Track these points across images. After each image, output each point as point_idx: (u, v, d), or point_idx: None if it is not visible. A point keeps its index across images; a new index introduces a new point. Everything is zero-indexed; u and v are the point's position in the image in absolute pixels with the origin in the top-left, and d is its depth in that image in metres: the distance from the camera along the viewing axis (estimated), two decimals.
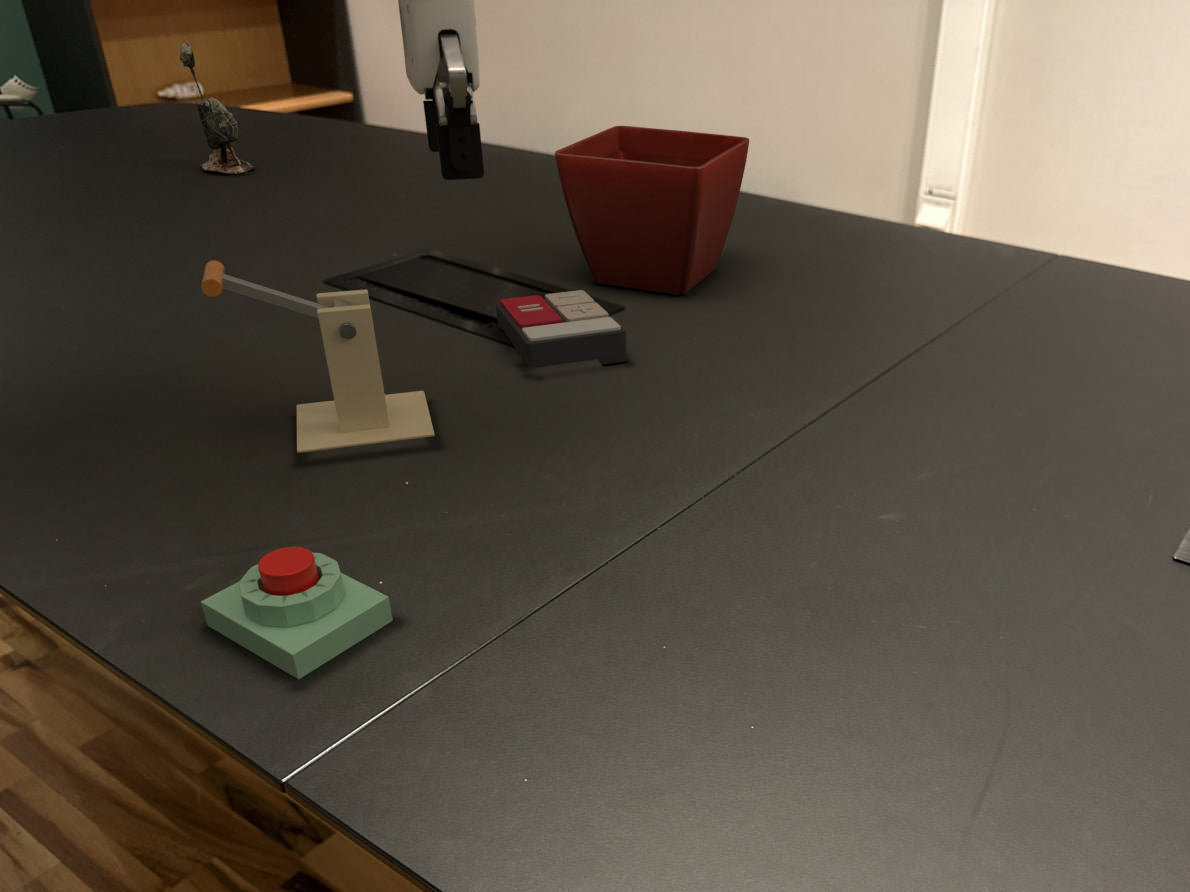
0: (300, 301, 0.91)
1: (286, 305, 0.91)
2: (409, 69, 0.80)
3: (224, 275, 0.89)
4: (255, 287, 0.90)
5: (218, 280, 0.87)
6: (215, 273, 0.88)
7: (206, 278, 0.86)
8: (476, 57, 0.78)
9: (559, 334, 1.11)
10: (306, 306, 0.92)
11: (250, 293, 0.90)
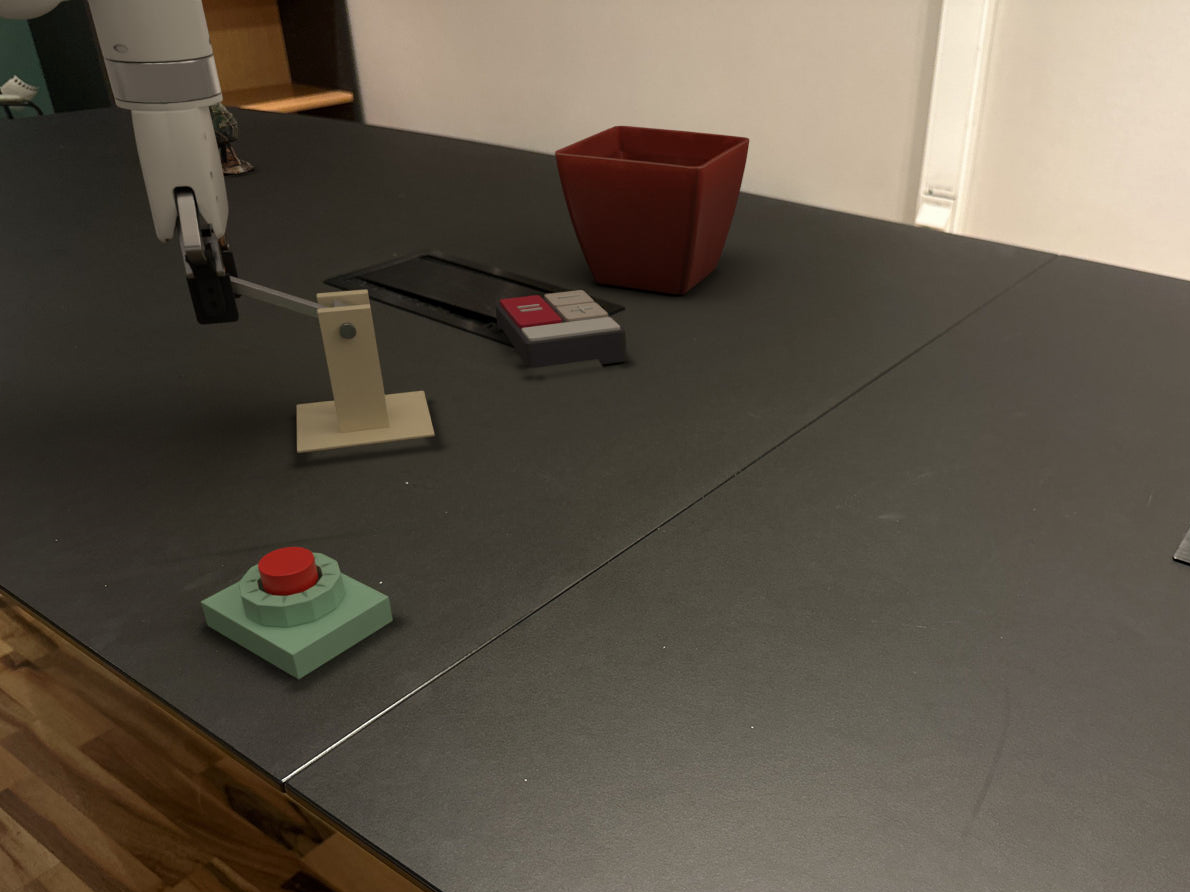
0: (300, 301, 0.91)
1: (286, 305, 0.91)
2: None
3: None
4: (255, 287, 0.90)
5: None
6: None
7: None
8: (214, 209, 0.82)
9: (559, 334, 1.11)
10: (306, 306, 0.92)
11: (250, 293, 0.90)
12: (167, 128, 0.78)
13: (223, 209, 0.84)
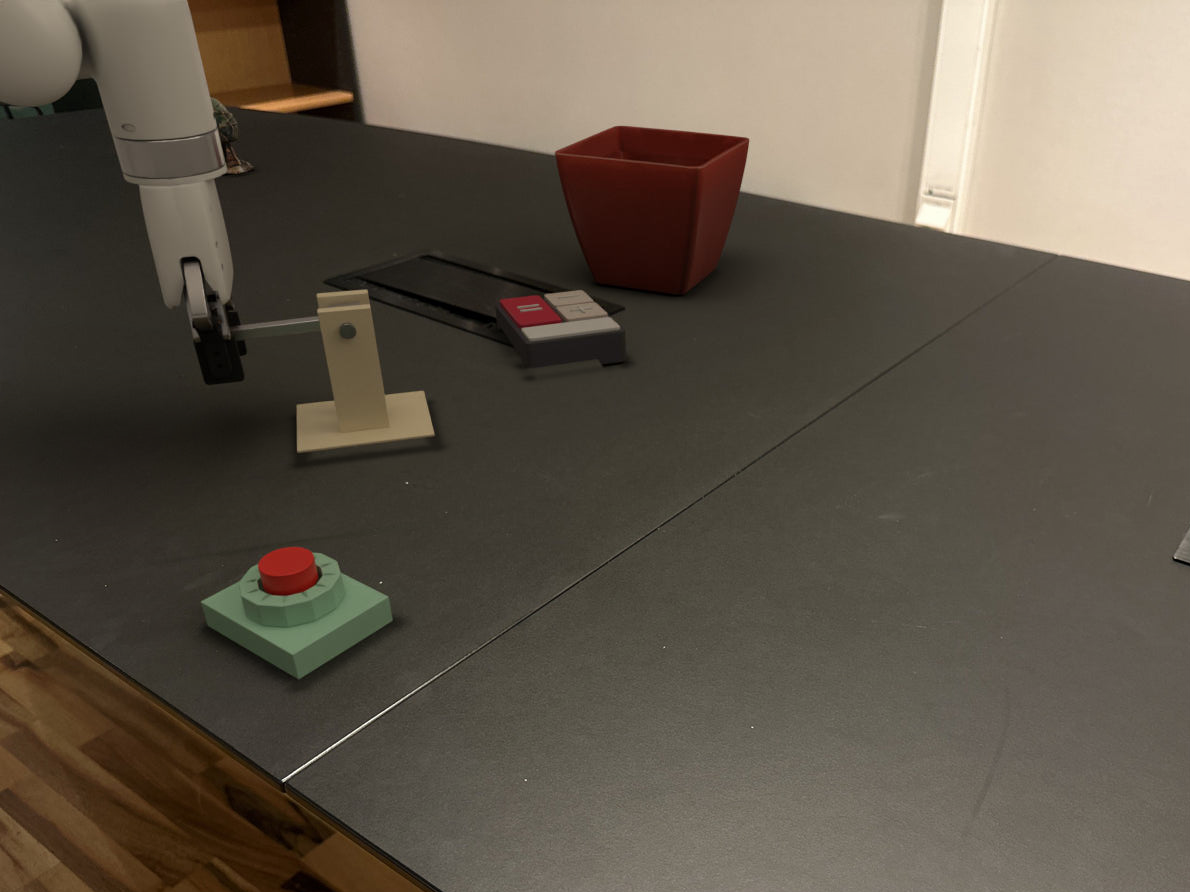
0: (296, 322, 0.92)
1: (287, 331, 0.92)
2: None
3: None
4: (252, 327, 0.91)
5: None
6: None
7: None
8: (220, 277, 0.84)
9: (558, 334, 1.11)
10: (304, 324, 0.92)
11: (251, 335, 0.91)
12: (174, 202, 0.81)
13: (228, 275, 0.87)
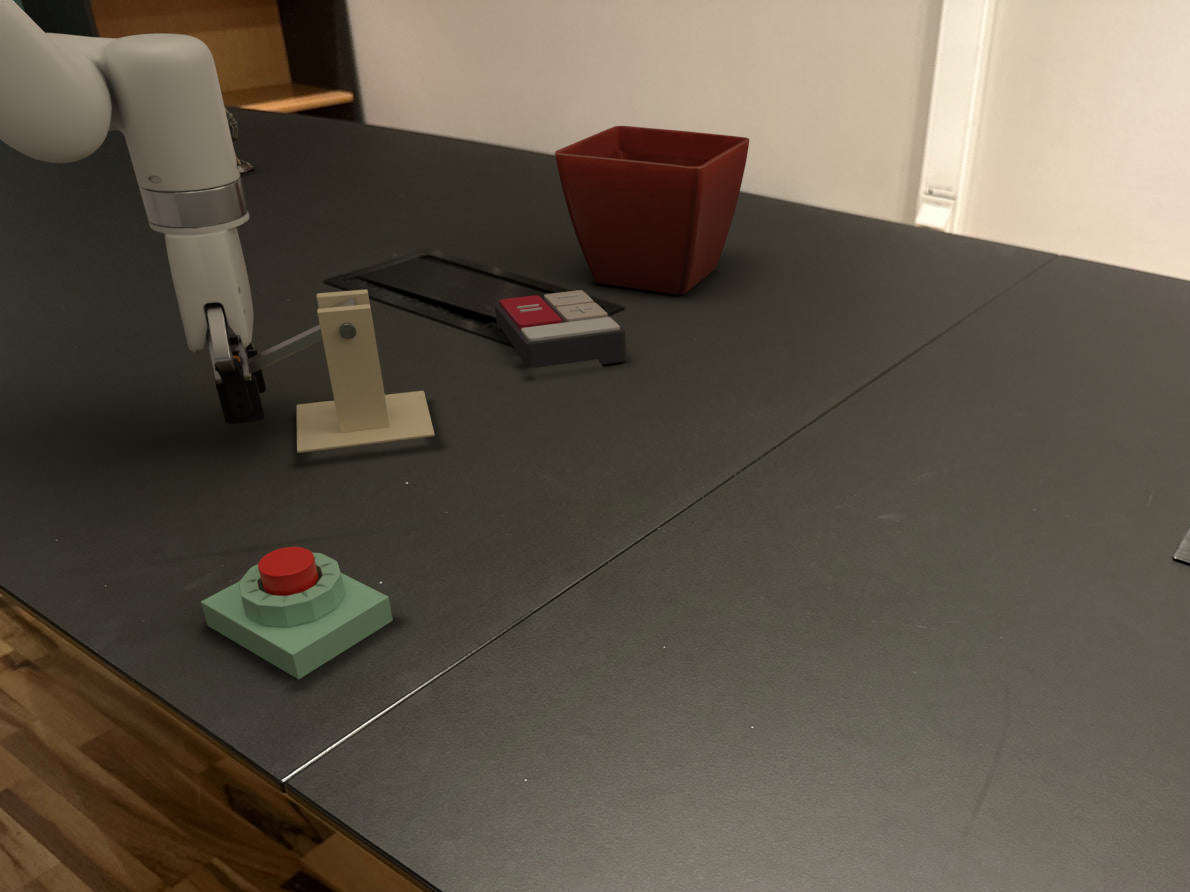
0: (301, 337, 0.93)
1: (295, 348, 0.93)
2: None
3: None
4: (263, 355, 0.93)
5: None
6: None
7: None
8: (242, 321, 0.87)
9: (558, 334, 1.11)
10: (308, 336, 0.93)
11: (264, 362, 0.93)
12: (199, 251, 0.83)
13: (250, 318, 0.89)
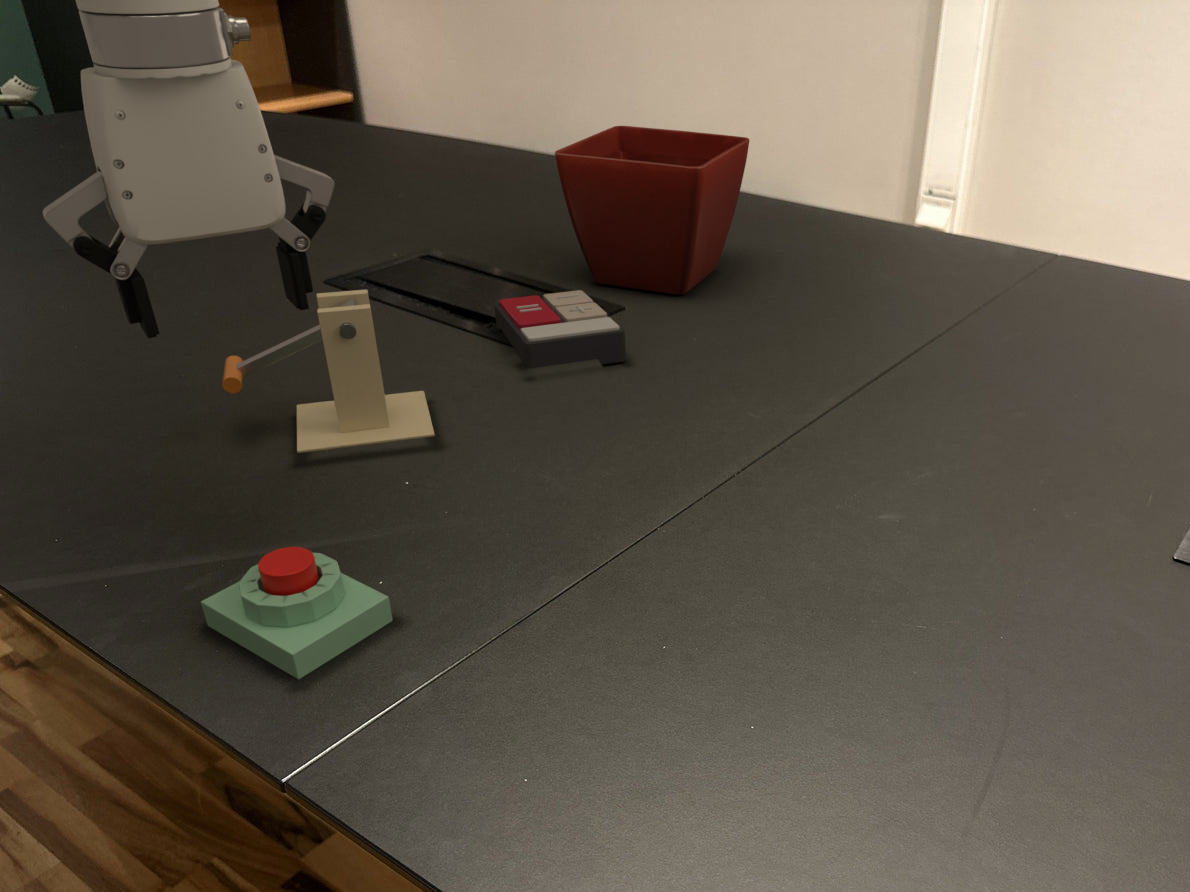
0: (301, 337, 0.93)
1: (295, 348, 0.93)
2: None
3: (237, 365, 0.93)
4: (263, 355, 0.93)
5: (231, 375, 0.91)
6: (228, 370, 0.92)
7: None
8: (117, 205, 0.63)
9: (558, 334, 1.11)
10: (308, 336, 0.93)
11: (264, 362, 0.93)
12: (85, 94, 0.62)
13: (166, 212, 0.65)
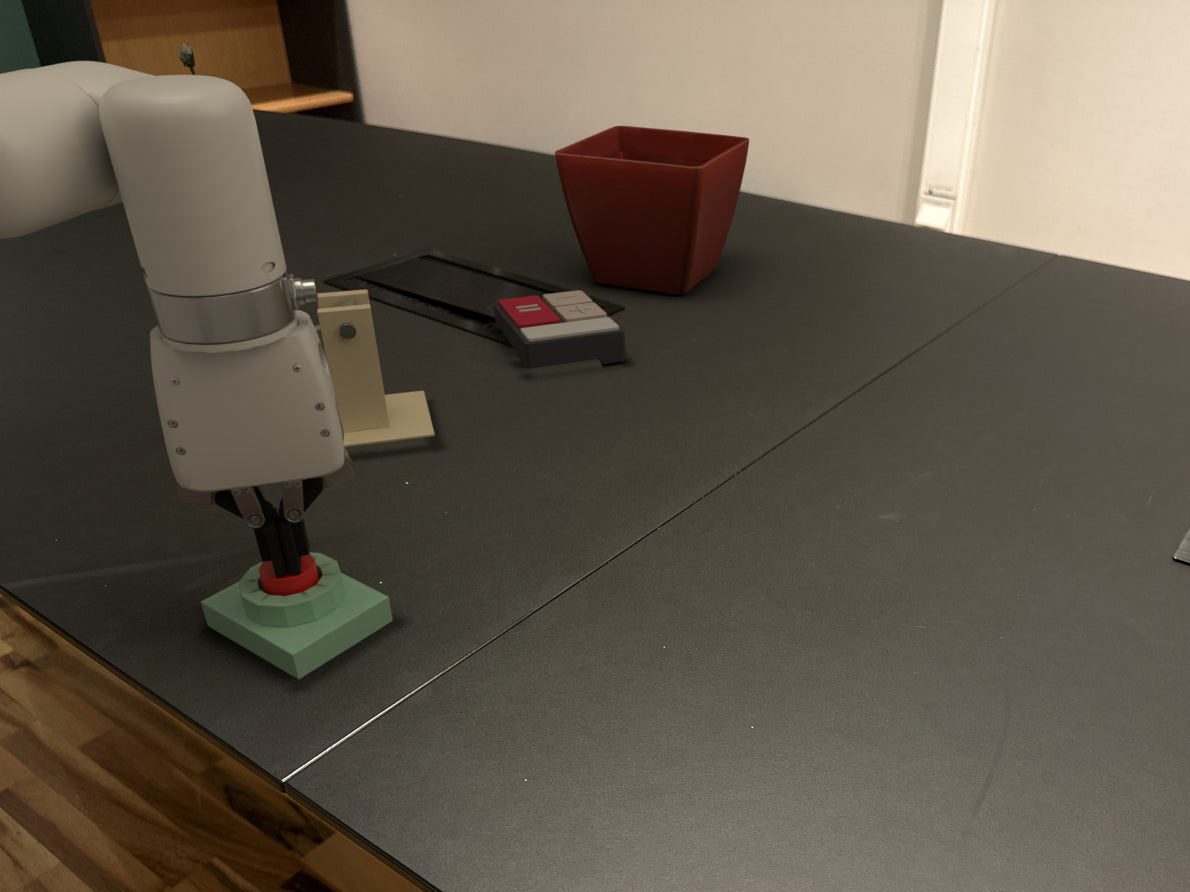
0: None
1: None
2: None
3: None
4: None
5: None
6: None
7: None
8: (171, 459, 0.63)
9: (558, 334, 1.11)
10: None
11: None
12: None
13: (219, 466, 0.64)
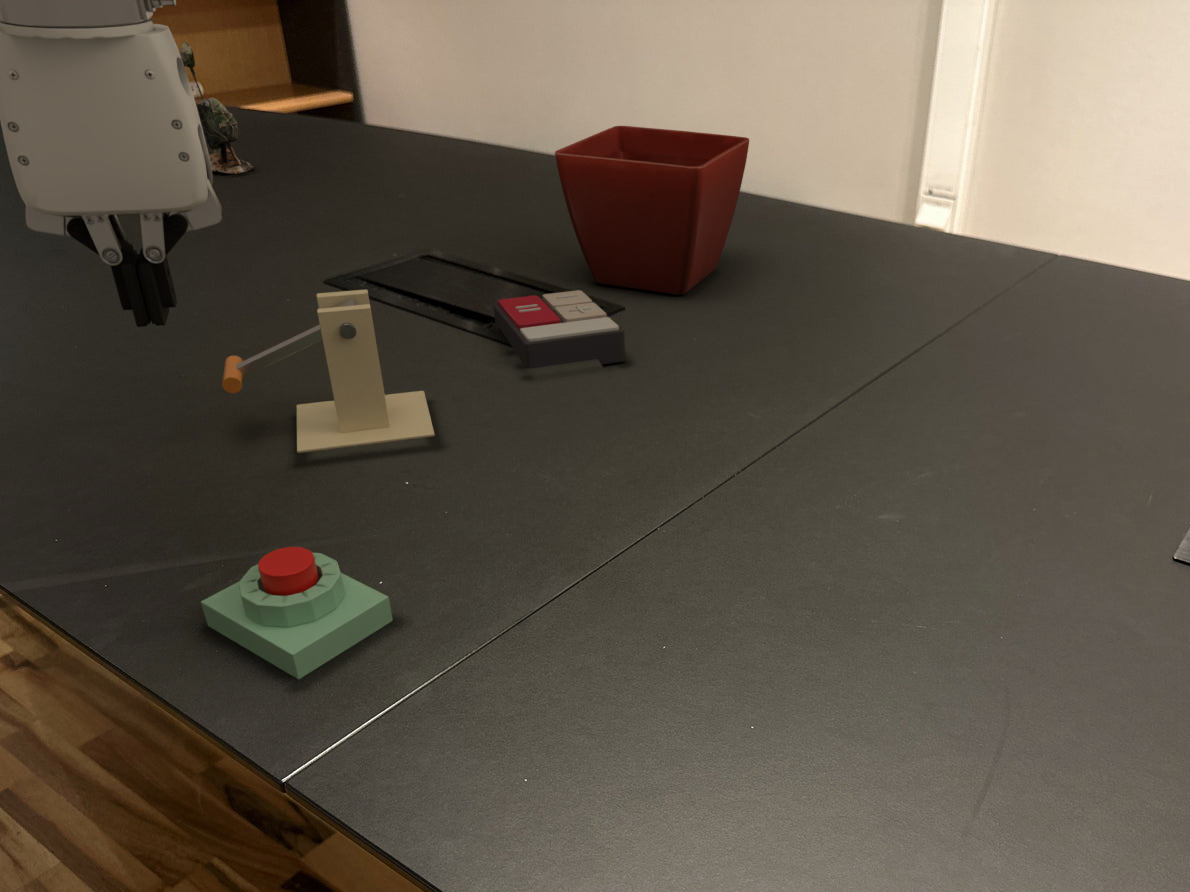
0: (301, 337, 0.93)
1: (295, 348, 0.93)
2: None
3: (237, 365, 0.93)
4: (263, 355, 0.93)
5: (231, 375, 0.91)
6: (228, 370, 0.92)
7: None
8: (14, 170, 0.59)
9: (557, 334, 1.11)
10: (308, 336, 0.93)
11: (264, 362, 0.93)
12: None
13: (67, 183, 0.60)
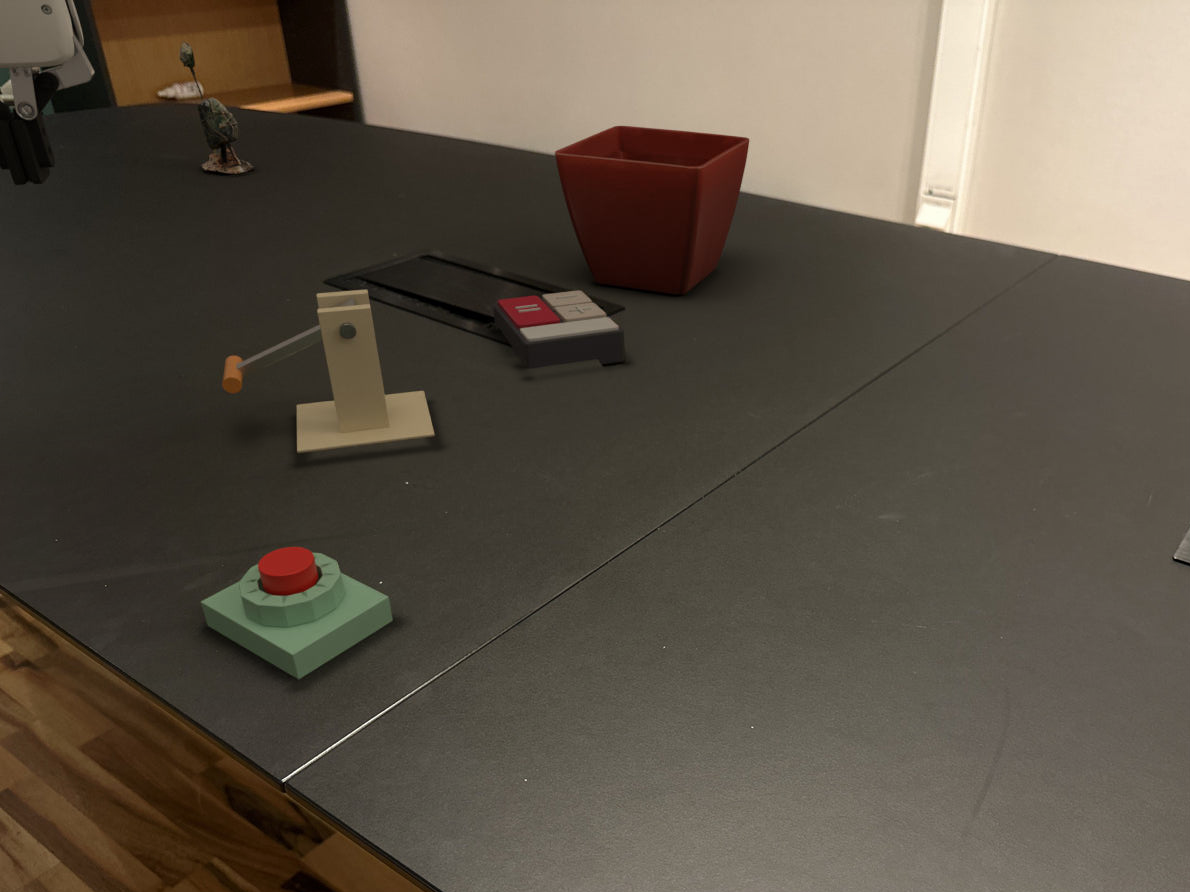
0: (301, 337, 0.93)
1: (295, 348, 0.93)
2: None
3: (237, 365, 0.93)
4: (263, 355, 0.93)
5: (231, 375, 0.91)
6: (228, 370, 0.92)
7: None
8: None
9: (557, 334, 1.11)
10: (308, 336, 0.93)
11: (264, 362, 0.93)
12: None
13: None
